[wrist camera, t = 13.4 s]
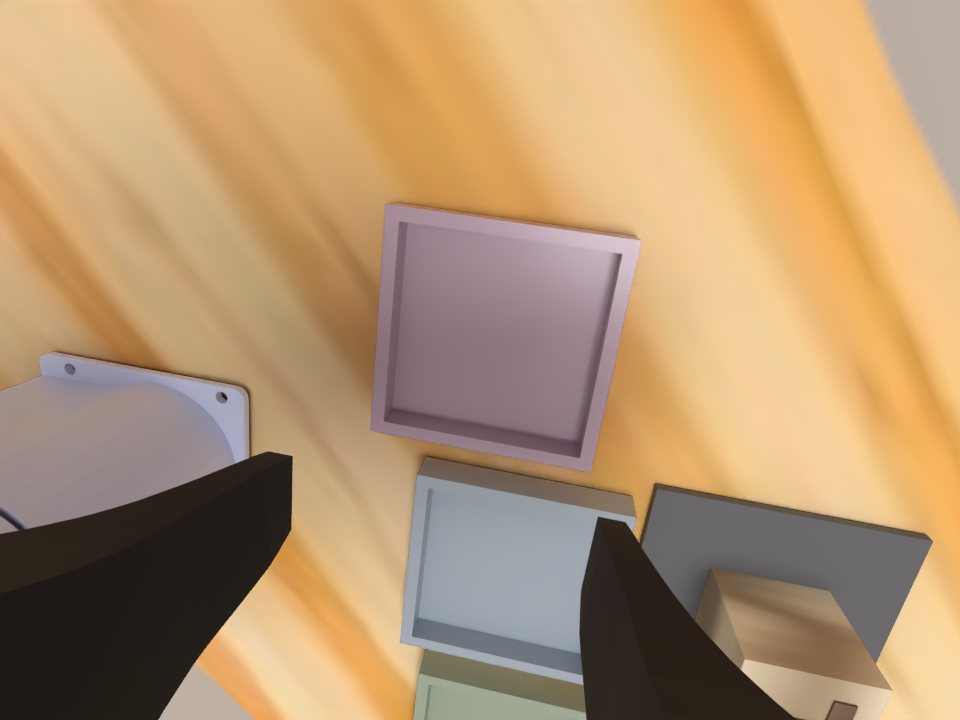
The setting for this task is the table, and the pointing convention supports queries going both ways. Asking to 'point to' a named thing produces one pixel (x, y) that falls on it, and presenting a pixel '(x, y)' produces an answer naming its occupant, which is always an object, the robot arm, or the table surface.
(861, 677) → the letter cube
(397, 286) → the tray near
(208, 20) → the table surface
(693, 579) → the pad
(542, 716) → the tray far
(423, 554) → the tray mid
